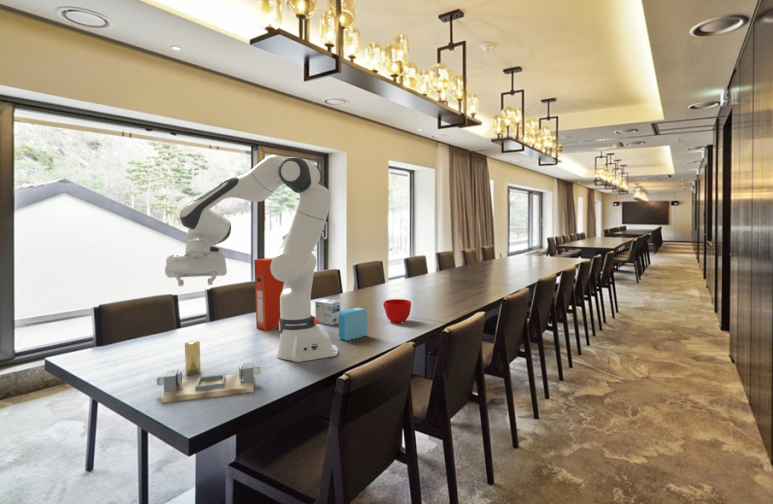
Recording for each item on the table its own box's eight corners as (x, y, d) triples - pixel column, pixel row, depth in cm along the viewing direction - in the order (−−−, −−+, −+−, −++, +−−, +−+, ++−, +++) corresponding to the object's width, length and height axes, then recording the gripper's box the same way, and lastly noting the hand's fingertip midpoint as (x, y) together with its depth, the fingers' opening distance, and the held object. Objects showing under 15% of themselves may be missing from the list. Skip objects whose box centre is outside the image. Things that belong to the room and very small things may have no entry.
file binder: (256, 328, 193) (254, 259, 190) (287, 321, 206) (285, 256, 203) (266, 331, 187) (264, 260, 185) (297, 323, 200) (296, 257, 198)
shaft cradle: (260, 376, 133) (259, 358, 133) (260, 391, 122) (260, 371, 121) (163, 387, 125) (162, 367, 124) (153, 403, 113) (152, 382, 113)
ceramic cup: (393, 316, 216) (393, 297, 215) (416, 322, 203) (416, 302, 202) (374, 320, 208) (374, 300, 207) (396, 326, 195) (396, 305, 194)
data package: (360, 334, 182) (360, 307, 182) (367, 336, 179) (367, 308, 178) (338, 339, 174) (338, 311, 173) (345, 341, 171) (345, 312, 170)
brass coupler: (201, 369, 139) (200, 340, 138) (199, 374, 135) (198, 344, 134) (187, 371, 138) (185, 341, 137) (184, 376, 134) (183, 345, 133)
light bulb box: (341, 322, 203) (340, 300, 202) (332, 325, 197) (331, 303, 196) (324, 320, 208) (323, 298, 207) (315, 322, 203) (314, 300, 202)
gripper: (165, 249, 149) (160, 280, 141) (226, 248, 155) (225, 277, 147) (168, 260, 154) (164, 291, 145) (227, 259, 160) (226, 288, 151)
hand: (195, 284), depth 146 cm, fingers open, 8 cm apart
